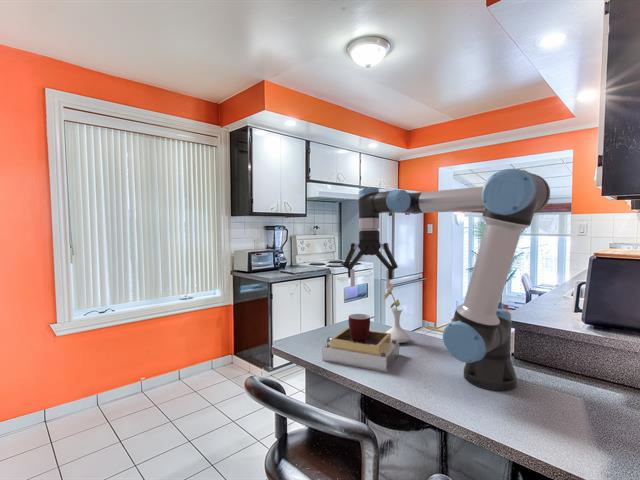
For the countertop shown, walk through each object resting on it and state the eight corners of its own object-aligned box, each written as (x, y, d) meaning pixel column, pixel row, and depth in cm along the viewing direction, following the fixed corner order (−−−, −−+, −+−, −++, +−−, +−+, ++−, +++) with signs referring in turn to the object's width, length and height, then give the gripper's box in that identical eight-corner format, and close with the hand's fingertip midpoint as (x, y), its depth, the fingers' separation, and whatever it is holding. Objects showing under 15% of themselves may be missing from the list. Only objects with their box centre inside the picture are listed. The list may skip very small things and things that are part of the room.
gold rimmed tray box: (399, 354, 131) (399, 333, 130) (386, 372, 115) (386, 348, 114) (332, 343, 143) (332, 324, 143) (312, 358, 127) (312, 337, 127)
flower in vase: (393, 335, 154) (393, 280, 154) (415, 341, 146) (415, 283, 145) (375, 341, 146) (375, 283, 145) (398, 348, 137) (398, 286, 136)
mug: (379, 345, 125) (379, 318, 125) (361, 350, 121) (361, 322, 121) (361, 337, 134) (360, 312, 134) (344, 341, 130) (344, 315, 130)
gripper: (405, 229, 124) (406, 287, 125) (341, 230, 135) (342, 284, 135) (400, 229, 117) (401, 290, 118) (334, 230, 128) (335, 287, 128)
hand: (370, 287), depth 127 cm, fingers open, 13 cm apart
